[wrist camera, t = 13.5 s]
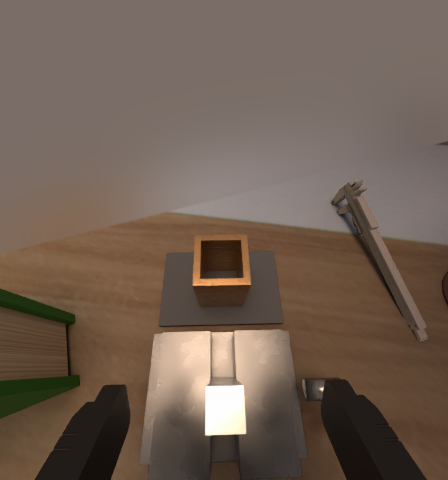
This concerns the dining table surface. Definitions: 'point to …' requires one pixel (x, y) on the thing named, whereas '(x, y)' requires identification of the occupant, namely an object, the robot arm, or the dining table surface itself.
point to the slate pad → (191, 314)
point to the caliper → (380, 253)
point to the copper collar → (221, 259)
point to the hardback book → (32, 352)
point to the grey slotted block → (224, 405)
